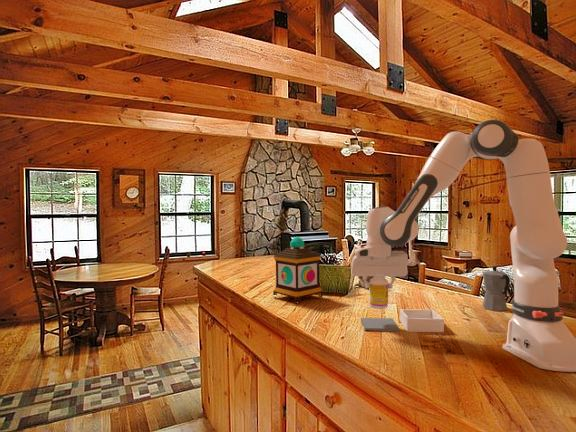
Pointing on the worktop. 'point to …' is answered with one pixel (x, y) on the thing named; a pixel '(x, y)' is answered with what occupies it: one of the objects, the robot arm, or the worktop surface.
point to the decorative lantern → (297, 271)
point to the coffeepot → (495, 290)
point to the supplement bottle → (378, 292)
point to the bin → (421, 320)
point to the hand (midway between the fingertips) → (378, 288)
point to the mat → (380, 324)
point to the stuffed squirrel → (362, 282)
